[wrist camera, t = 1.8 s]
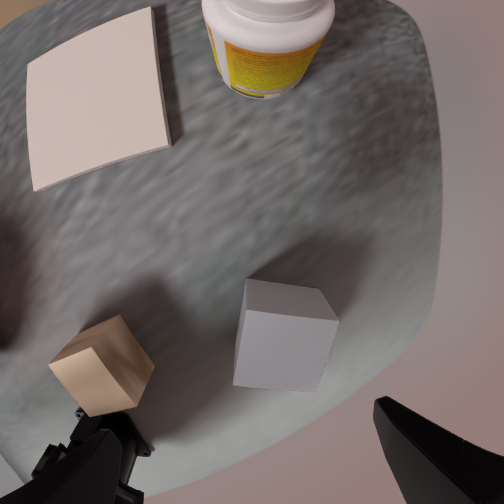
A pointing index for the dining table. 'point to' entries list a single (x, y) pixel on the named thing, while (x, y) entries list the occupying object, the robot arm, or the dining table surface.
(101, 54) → the cream square tile
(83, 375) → the birch block
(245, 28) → the supplement bottle
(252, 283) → the pale grey block
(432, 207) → the dining table surface
